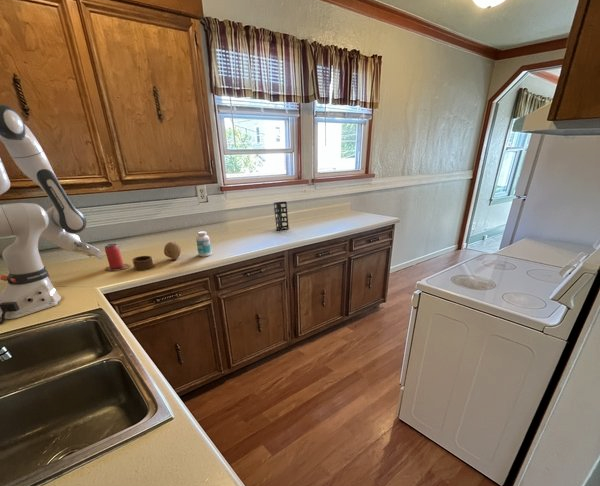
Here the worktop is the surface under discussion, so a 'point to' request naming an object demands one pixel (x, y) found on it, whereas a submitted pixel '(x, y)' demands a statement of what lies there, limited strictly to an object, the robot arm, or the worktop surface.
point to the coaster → (117, 268)
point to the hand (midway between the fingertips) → (96, 256)
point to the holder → (279, 215)
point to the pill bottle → (203, 244)
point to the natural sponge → (172, 250)
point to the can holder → (143, 263)
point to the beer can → (113, 256)
